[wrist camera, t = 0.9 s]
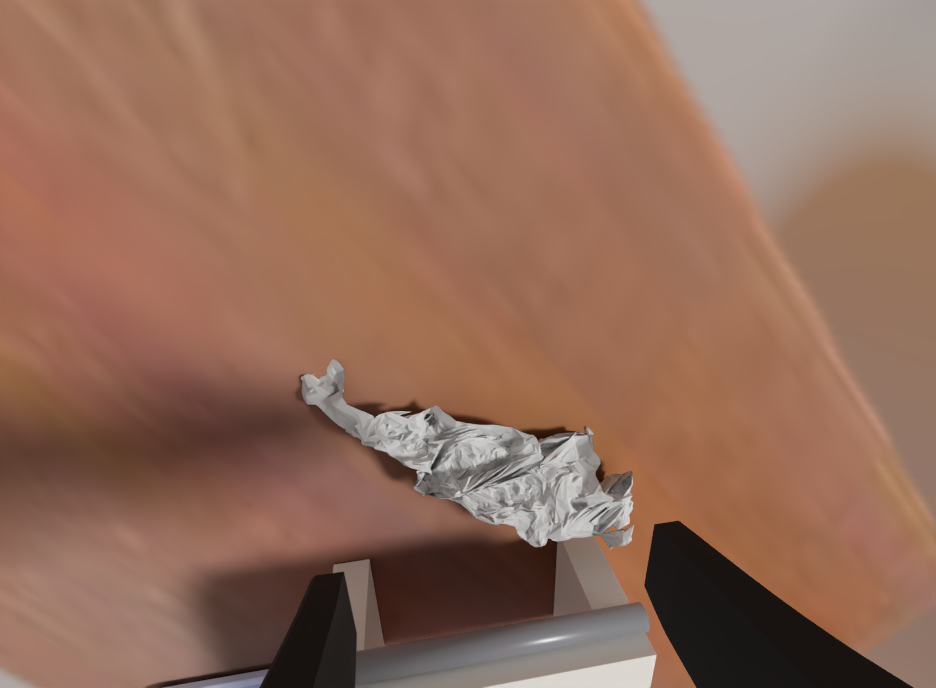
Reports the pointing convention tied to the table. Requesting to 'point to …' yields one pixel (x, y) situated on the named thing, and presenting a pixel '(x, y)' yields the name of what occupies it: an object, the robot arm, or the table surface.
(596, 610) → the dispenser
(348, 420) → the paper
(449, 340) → the table surface
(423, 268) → the table surface
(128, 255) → the table surface
